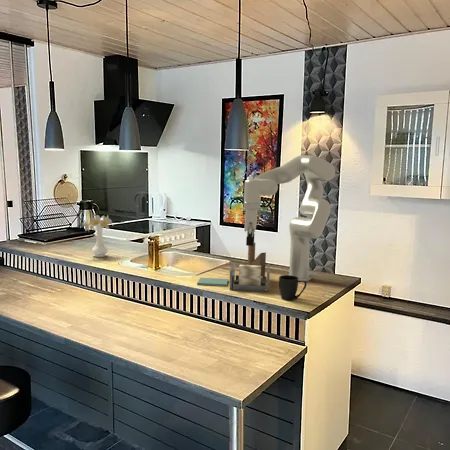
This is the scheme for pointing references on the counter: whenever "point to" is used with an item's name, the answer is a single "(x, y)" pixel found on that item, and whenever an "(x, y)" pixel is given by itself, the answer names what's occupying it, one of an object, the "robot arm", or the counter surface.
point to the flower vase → (99, 234)
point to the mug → (289, 287)
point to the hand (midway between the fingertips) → (250, 243)
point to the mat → (212, 282)
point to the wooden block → (258, 261)
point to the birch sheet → (249, 275)
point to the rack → (238, 287)
